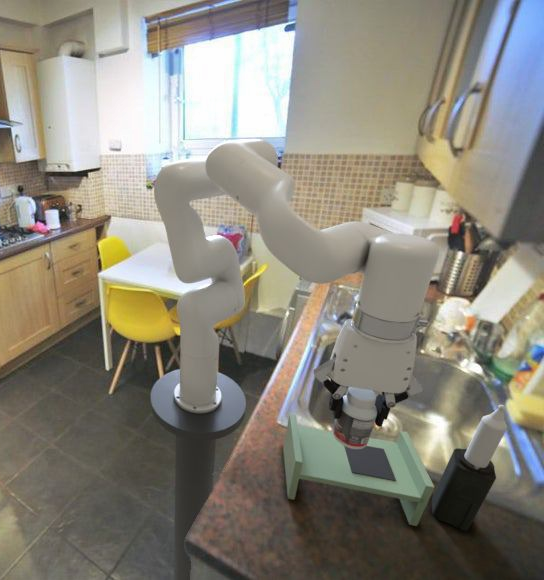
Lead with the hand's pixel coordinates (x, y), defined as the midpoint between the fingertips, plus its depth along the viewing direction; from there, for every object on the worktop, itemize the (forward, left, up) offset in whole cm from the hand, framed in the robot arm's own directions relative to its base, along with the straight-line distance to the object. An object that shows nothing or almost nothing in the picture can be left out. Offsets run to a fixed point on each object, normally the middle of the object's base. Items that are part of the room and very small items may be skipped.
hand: (355, 415), depth 60 cm
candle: (-2, +20, -21) cm, 29 cm away
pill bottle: (0, 0, -5) cm, 5 cm away
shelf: (-4, +3, -20) cm, 21 cm away
